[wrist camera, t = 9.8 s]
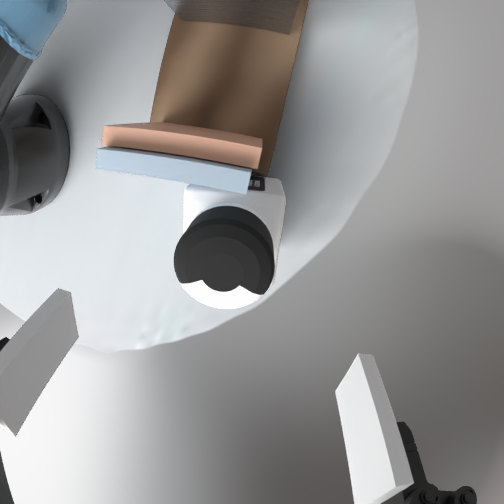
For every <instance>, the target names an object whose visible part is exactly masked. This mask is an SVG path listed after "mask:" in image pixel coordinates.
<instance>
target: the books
mask: <svg viewBox="0 0 504 504" xmlns="http://www.w3.org/2000/svg"><path fill="white" fill-rule="evenodd" d="M102 145H107V147H103V148H99V149H97V157H96V169H100V170H108V171H115V172H122V173H129V174H135V175H142V176H148V177H154V178H160V179H166V180H172V181H178V182H184V183H189V184H195V185H200V186H206V187H211V188H216V189H221V190H226V191H231V192H236V193H241V194H247V190H248V185H249V181H250V177H251V173H252V168H254V169H258V165H259V160H260V156H261V151H262V139H261V138H257V137H252V136H247V135H242V134H237V133H231V132H226V131H220V130H214V129H208V128H202V127H195V126H188V125H181V124H173V123H165V122H152V123H133V124H119V125H107V126H104V128H103V136H102Z"/></svg>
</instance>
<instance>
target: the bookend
mask: <svg viewBox="0 0 504 504" xmlns="http://www.w3.org/2000/svg"><path fill="white" fill-rule="evenodd" d="M164 1H165V2H166V3H167V4H168V5H169V6H170V7H171V9H172V10H173V11H174V12H175V13H176V14H177V15H178V16H179V18H180V19H181V20H182V21H196V22H209V23H220V24H229V25H237V26H244V27H251V28H257V29H263V30H268V31H273V32H278V33H283V34H287V35H289V33H290V30H291V27H292V23H293V20H294V17H295V14H296V10H297V7H298V4H299V1H300V0H164Z"/></svg>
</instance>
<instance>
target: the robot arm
mask: <svg viewBox="0 0 504 504" xmlns="http://www.w3.org/2000/svg"><path fill="white" fill-rule="evenodd" d="M66 7H67V0H0V216H7V215H25V214H30V213H33V212H35V211H37V210H39V209H41V208H43V207H45V206H46V205H48V204H49V203H50V202H51V201H52V200H53V199H54V198H55V197H56V195H57V194H58V192H59V191H60V189H61V187H62V185H63V182H64V179H65V176H66V172H67V168H68V161H69V140H68V133H67V128H66V125H65V122H64V119H63V117H62V115H61V113H60V111H59V109H58V108H57V106H56V105H55V104H54V103H53V102H52V101H51V100H49V99H48V98H46V97H44V96H41V95H21V96H17V97H14V98H12V97H13V95H14V93H15V91H16V89H17V88H18V86H19V84H20V82H21V80H22V79H23V77H24V75H25V74H26V72H27V70H28V69H29V67H30V65H31V64H32V62H33V61H34V60H35V59H37V58H38V57H39V56H40V54H41V52H42V47H43V46H44V44H45V42H46V41H47V39H48V38H49V36H50V35H51V33H52V32H53V30H54V29H55V27H56V26H57V24H58V23H59V22H60V20H61V19H62V17H63V15H64V13H65V11H66ZM78 337H79V336H78V331H77V326H76V321H75V315H74V309H73V303H72V297H71V292H68V291H65V290H62V289H59V288H58V289H57V290H56V291H55V292H54V293H53V294H52V295H51V296H50V297H49V298H48V299H47V300H46V301H45V302H44V303H43V304H42V305H41V306H40V307H39V308H38V309H37V311H36V312H35V313H34V314H33V315H32V316H31V317H30V318H29V319H28V320H27V321H26V322H25V324H24V325H23V326H22V327H21V328H20V329H19V330H18V332H17V333H16V334H15V335H14V336H13V337H12V338H11V339H8V338H7V337H5V338H3V339H2V340H0V425H1V427H2V428H3V429H5V430H6V431H8V432H9V433H11V434H12V435H14V436H16V435H17V433H18V432H19V430H20V428H21V426H22V425H23V423H24V421H25V419H26V418H27V416H28V414H29V412H30V411H31V409H32V407H33V406H34V404H35V402H36V401H37V399H38V397H39V396H40V394H41V392H42V391H43V389H44V388H45V386H46V384H47V383H48V382H49V380H50V378H51V377H52V375H53V374H54V372H55V371H56V369H57V368H58V366H59V365H60V363H61V361H62V360H63V359H64V357H65V356H66V354H67V353H68V351H69V350H70V348H71V347H72V346H73V344H74V343H75V341H76V340H77V339H78ZM335 393H336V398H337V402H338V408H339V413H340V418H341V424H342V429H343V434H344V440H345V446H346V452H347V457H348V463H349V470H350V476H351V482H352V490H353V497H354V504H476V502H477V498H476V493H475V491H474V490H473V489H472V488H471V487H469V486H463V487H461V488H459V489H458V490H456V491H440V490H438V488H437V487H436V486H434V485H433V484H429V483H428V482H427V480H426V477H425V473H424V470H423V466H422V463H421V460H420V457H419V453H418V451H417V447H416V444H415V443H414V438H413V435H412V432H411V430H410V429H409V427H408V426H407V425H406V423H405V422H396V420H395V417H394V414H393V411H392V408H391V405H390V402H389V399H388V396H387V393H386V390H385V387H384V384H383V382H382V379H381V376H380V373H379V371H378V368H377V366H376V363H375V360H374V357H373V355H369V354H359V353H358V355H357V357H356V358H355V360H354V362H353V363H352V365H351V367H350V368H349V370H348V372H347V373H346V375H345V377H344V378H343V380H342V381H341V383H340V385H339V386H338V388H337V389H336V391H335ZM0 504H14V502H13V498H12V495H11V492H10V489H9V485H8V482H7V478H6V474H5V470H4V466H3V462H2V457H1V453H0Z"/></svg>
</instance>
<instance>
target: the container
mask: <svg viewBox="0 0 504 504" xmlns="http://www.w3.org/2000/svg"><path fill="white" fill-rule="evenodd" d="M285 207H286V197H285V194H284V190H283V187H282V184H281V181H280V179H277V178H269V177H261V176H251V177H250V181H249V185H248V190H247V194H241V193H236V192H231V191H226V190H221V189H216V188H211V187H206V186H200V185H195V184H190V185H188V186H187V187H186V188H185V190H184V212H183V235H182V237H181V238H180V240H179V242H178V244H177V246H176V249H175V253H174V268H175V272H176V275H177V278H178V280H179V282H180V284H181V285H182V287H183V288H184V289H185V290H186V291H187V293H189V294H190V295H191V296H192V297H193V298H195V299H196V300H198V301H199V302H201V303H203V304H206V305H208V306H211V307H215V308H221V309H234V308H240V307H243V306H246V305H249V304H251V303H253V302H255V301H256V300H258V299H259V298H260V297H261V296H262V295H263V294H264V293H265V292H266V291H267V290H268V288H269V286H271V285H273V283H274V279H275V273H276V267H277V260H278V254H279V247H280V241H281V234H282V227H283V221H284V214H285Z"/></svg>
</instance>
